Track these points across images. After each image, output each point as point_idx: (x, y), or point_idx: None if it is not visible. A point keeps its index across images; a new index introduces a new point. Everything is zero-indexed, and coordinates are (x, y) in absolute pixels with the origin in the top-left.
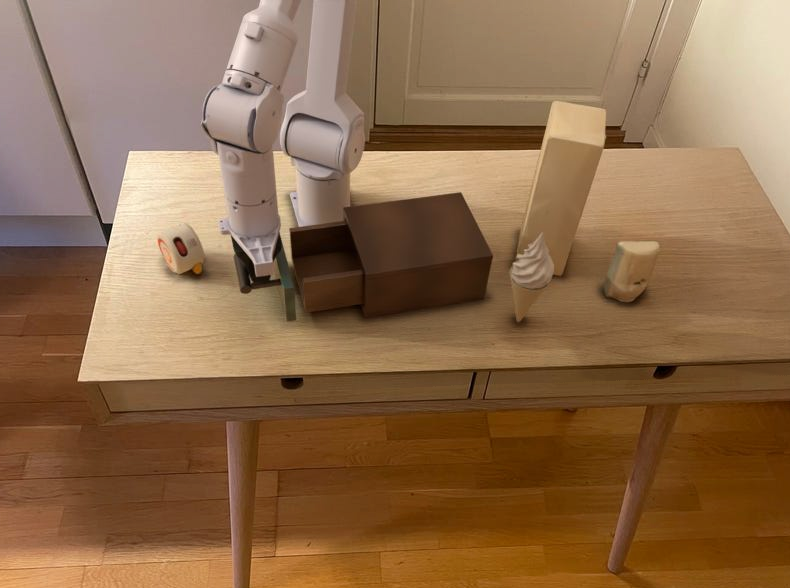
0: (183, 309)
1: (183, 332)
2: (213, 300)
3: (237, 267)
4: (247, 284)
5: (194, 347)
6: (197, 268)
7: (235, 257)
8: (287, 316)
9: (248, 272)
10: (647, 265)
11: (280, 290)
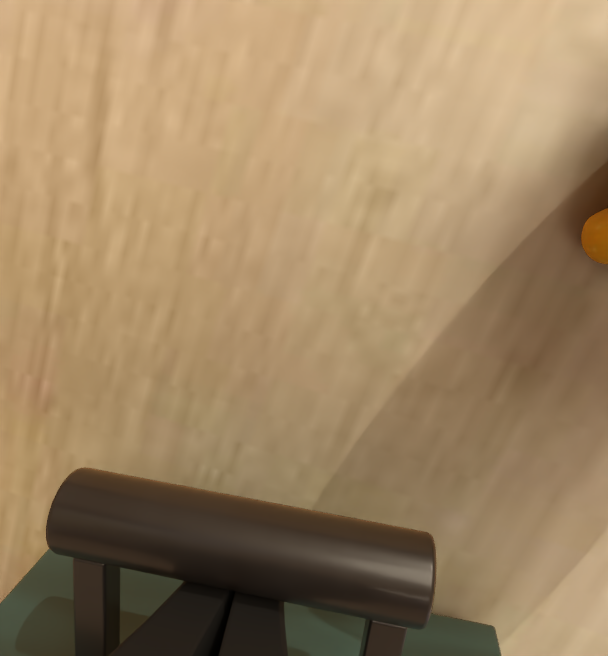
0: (331, 68)
1: (152, 32)
2: (344, 257)
3: (270, 545)
4: (61, 549)
5: (34, 74)
6: (599, 234)
7: (392, 569)
8: (37, 565)
9: (163, 603)
10: None
11: None
